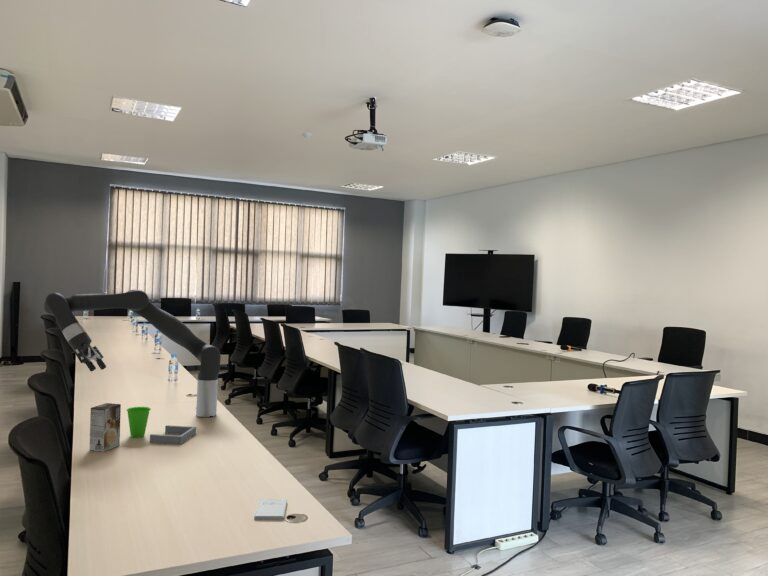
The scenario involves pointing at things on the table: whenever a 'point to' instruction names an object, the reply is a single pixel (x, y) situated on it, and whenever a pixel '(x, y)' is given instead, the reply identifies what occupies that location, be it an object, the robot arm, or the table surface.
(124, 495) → the table surface
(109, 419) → the coffee box
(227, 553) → the table surface
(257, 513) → the external hard drive
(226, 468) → the table surface
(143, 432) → the cup
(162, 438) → the grey cradle
